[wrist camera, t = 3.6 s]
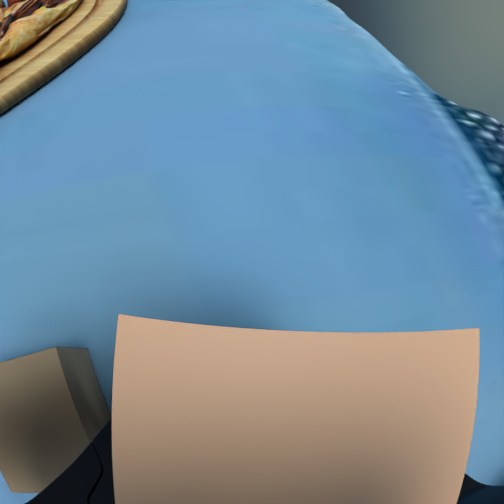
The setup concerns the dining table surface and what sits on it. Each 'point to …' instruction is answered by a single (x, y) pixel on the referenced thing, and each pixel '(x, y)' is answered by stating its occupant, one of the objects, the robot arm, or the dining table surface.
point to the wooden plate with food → (47, 40)
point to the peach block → (290, 415)
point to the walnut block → (47, 415)
